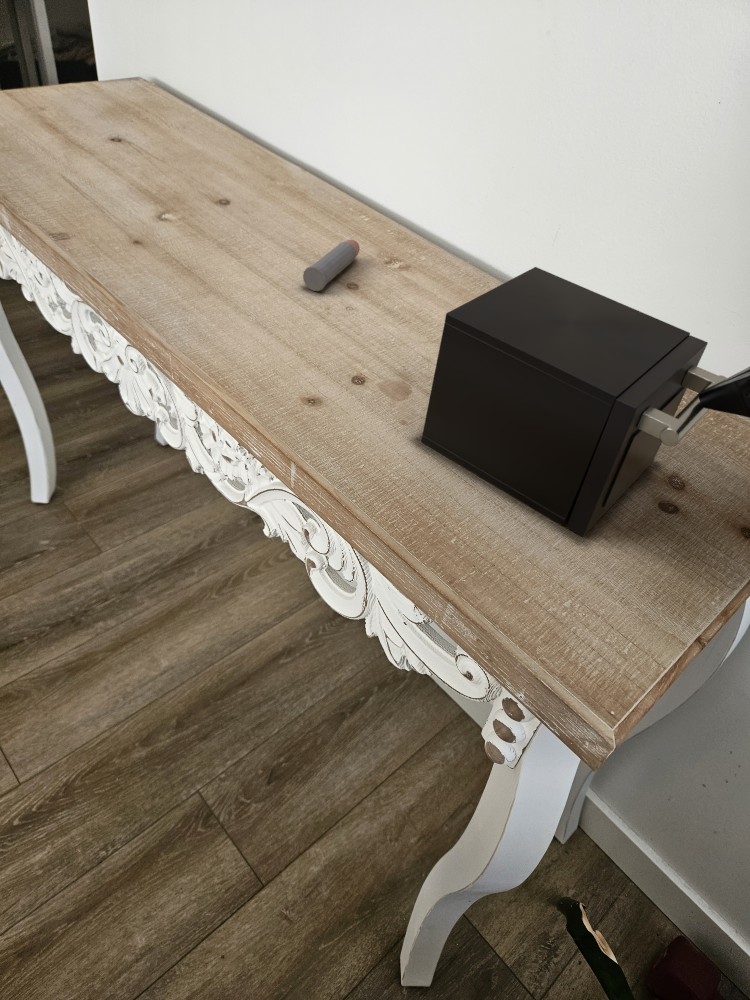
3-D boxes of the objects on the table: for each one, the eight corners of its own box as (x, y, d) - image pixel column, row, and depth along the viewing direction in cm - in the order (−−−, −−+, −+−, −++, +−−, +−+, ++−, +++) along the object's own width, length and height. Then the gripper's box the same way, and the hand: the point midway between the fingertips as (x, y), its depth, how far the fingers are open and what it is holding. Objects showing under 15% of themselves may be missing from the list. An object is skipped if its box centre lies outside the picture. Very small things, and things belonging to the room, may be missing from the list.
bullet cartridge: (324, 294, 83) (326, 270, 81) (301, 287, 84) (302, 263, 82) (362, 261, 91) (365, 238, 89) (341, 254, 92) (343, 232, 90)
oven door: (684, 479, 64) (747, 357, 56) (618, 557, 56) (680, 428, 47) (636, 454, 66) (689, 334, 58) (565, 527, 58) (615, 398, 50)
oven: (633, 454, 67) (690, 332, 58) (562, 526, 58) (616, 396, 49) (502, 385, 73) (535, 266, 64) (420, 441, 64) (446, 312, 56)
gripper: (952, 170, 45) (709, 265, 57) (895, 241, 33) (606, 341, 45) (997, 332, 47) (754, 390, 59) (957, 449, 36) (667, 492, 48)
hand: (701, 399), depth 53 cm, fingers closed, pressing on oven door
